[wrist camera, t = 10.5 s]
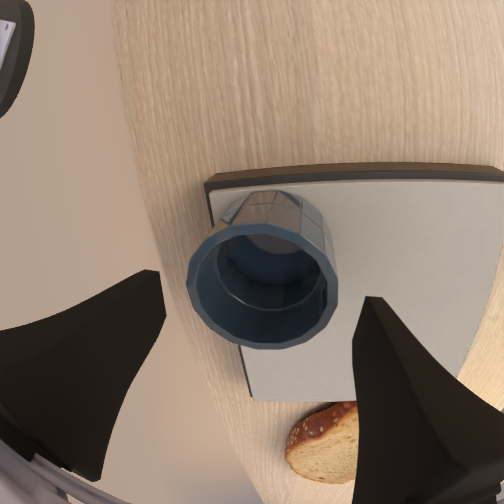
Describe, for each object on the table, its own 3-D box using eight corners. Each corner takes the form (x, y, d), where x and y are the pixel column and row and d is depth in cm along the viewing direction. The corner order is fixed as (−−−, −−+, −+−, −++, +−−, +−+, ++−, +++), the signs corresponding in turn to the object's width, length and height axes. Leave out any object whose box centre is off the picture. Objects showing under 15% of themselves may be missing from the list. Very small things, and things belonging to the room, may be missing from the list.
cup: (198, 246, 16) (163, 296, 12) (263, 162, 13) (243, 188, 9) (281, 307, 16) (271, 368, 12) (354, 238, 14) (370, 291, 10)
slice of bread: (323, 475, 34) (321, 496, 30) (235, 433, 29) (228, 459, 26) (437, 436, 26) (442, 460, 22) (379, 378, 22) (384, 413, 18)
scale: (212, 174, 16) (196, 186, 14) (492, 166, 13) (517, 178, 10) (253, 377, 24) (247, 403, 21) (445, 366, 20) (453, 390, 18)
